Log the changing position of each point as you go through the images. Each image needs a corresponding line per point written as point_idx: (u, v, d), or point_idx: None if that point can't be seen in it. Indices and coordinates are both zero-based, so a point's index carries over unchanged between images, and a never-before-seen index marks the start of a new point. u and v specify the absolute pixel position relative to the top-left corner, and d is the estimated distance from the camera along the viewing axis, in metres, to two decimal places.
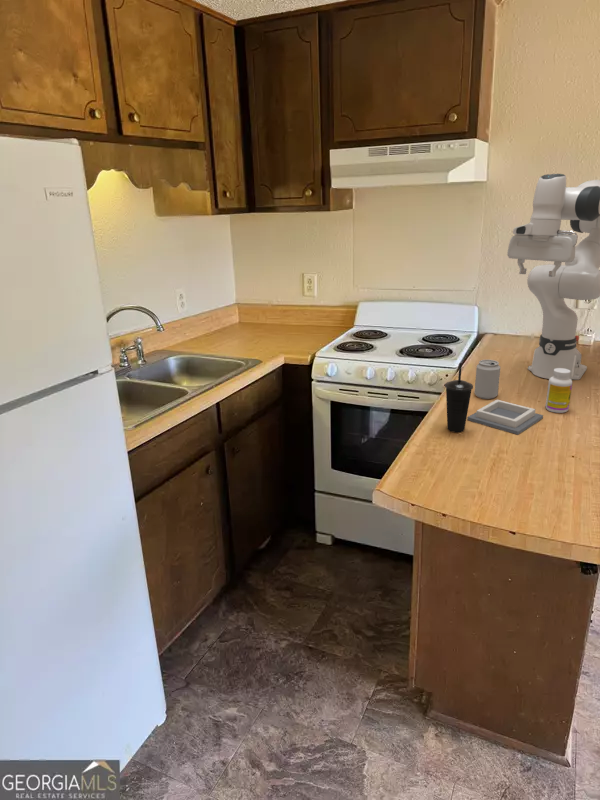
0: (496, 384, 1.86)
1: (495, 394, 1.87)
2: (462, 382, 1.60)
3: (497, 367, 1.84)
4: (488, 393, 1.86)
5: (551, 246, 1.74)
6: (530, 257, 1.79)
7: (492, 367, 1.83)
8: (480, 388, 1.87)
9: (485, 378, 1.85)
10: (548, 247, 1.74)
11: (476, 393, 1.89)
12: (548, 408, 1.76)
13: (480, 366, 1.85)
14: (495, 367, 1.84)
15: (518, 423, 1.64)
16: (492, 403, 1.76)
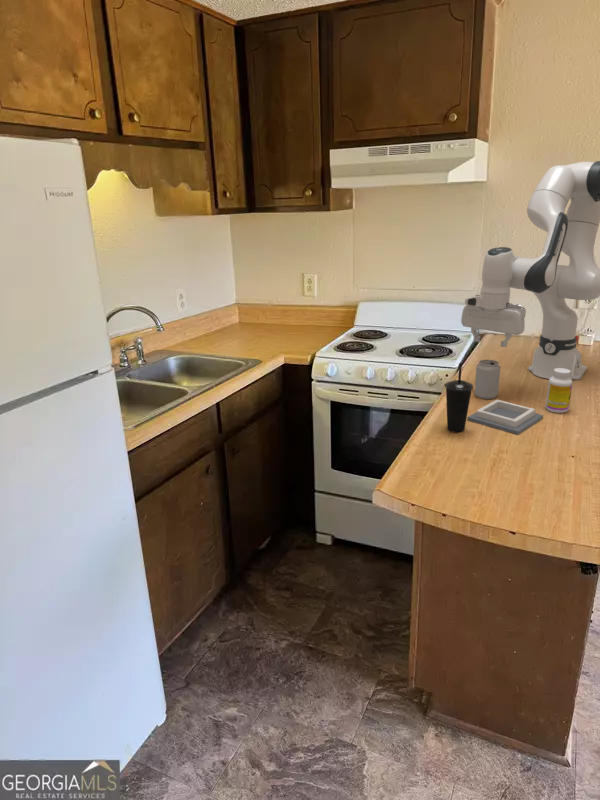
0: (496, 384, 1.86)
1: (495, 394, 1.87)
2: (462, 382, 1.60)
3: (497, 367, 1.84)
4: (488, 393, 1.86)
5: (501, 318, 1.77)
6: (482, 327, 1.82)
7: (492, 367, 1.83)
8: (480, 388, 1.87)
9: (485, 378, 1.85)
10: (498, 319, 1.78)
11: (476, 393, 1.89)
12: (548, 408, 1.76)
13: (480, 366, 1.85)
14: (495, 367, 1.84)
15: (518, 423, 1.64)
16: (492, 403, 1.76)
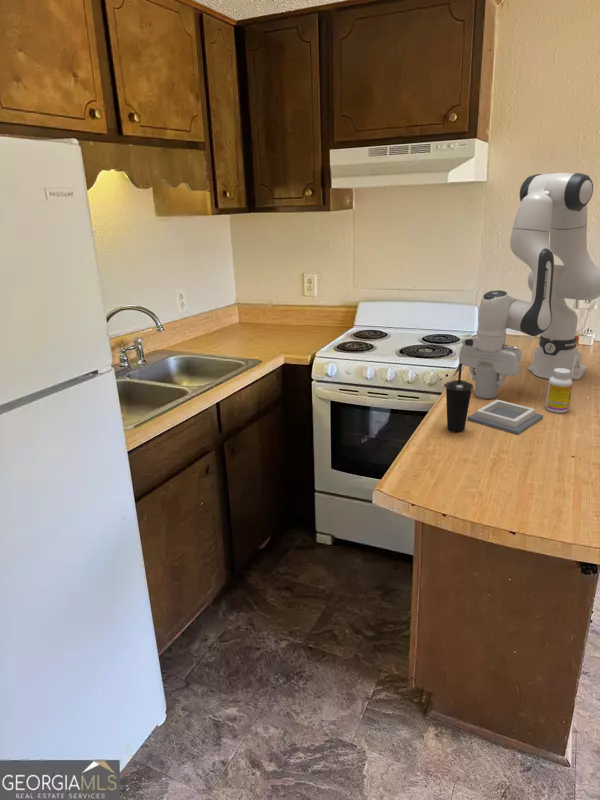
0: None
1: (495, 394, 1.87)
2: (462, 382, 1.60)
3: None
4: (488, 393, 1.86)
5: (497, 359, 1.82)
6: None
7: (492, 367, 1.83)
8: (480, 388, 1.87)
9: (485, 378, 1.85)
10: (495, 359, 1.82)
11: (476, 393, 1.89)
12: (548, 408, 1.76)
13: (480, 366, 1.85)
14: None
15: (518, 423, 1.64)
16: (492, 403, 1.76)
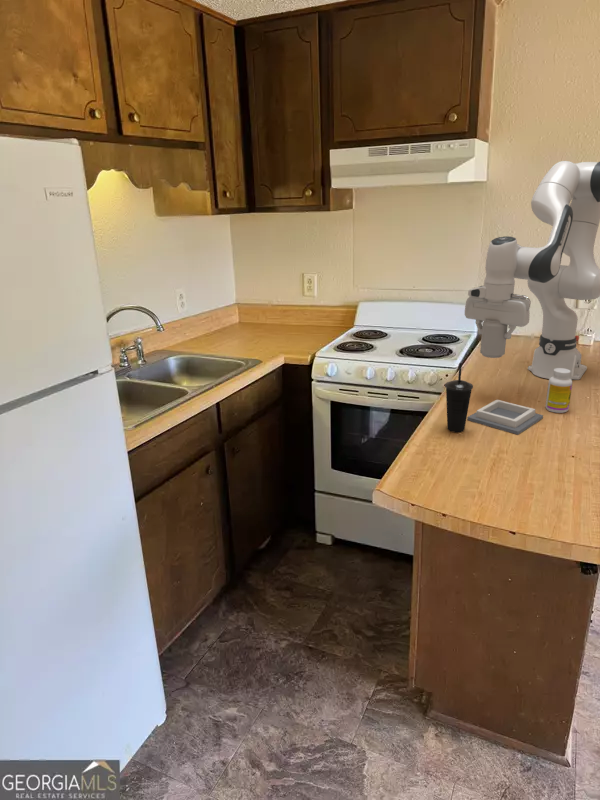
0: (503, 342, 1.77)
1: (502, 352, 1.78)
2: (462, 382, 1.60)
3: None
4: (495, 351, 1.77)
5: (505, 310, 1.73)
6: None
7: (499, 323, 1.75)
8: (486, 346, 1.78)
9: (492, 335, 1.76)
10: (503, 310, 1.73)
11: (482, 352, 1.80)
12: (548, 408, 1.76)
13: (486, 322, 1.77)
14: None
15: (518, 423, 1.64)
16: (492, 403, 1.76)
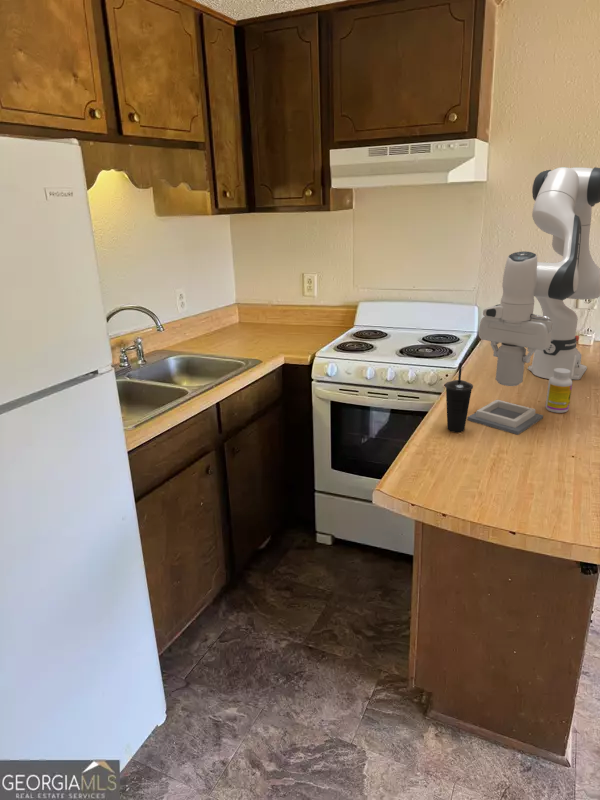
0: (521, 369, 1.63)
1: (519, 380, 1.64)
2: (462, 382, 1.60)
3: (522, 349, 1.61)
4: (512, 380, 1.63)
5: (524, 331, 1.58)
6: (503, 341, 1.63)
7: (517, 349, 1.61)
8: (502, 373, 1.64)
9: (509, 362, 1.62)
10: (521, 332, 1.59)
11: (498, 379, 1.66)
12: (548, 408, 1.76)
13: (503, 348, 1.63)
14: (520, 349, 1.61)
15: (518, 423, 1.64)
16: (492, 403, 1.76)
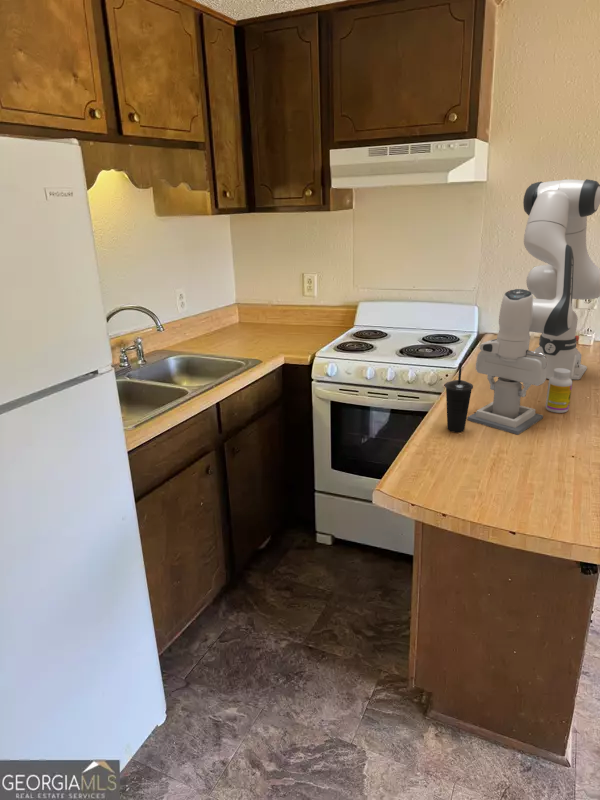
0: (517, 404, 1.67)
1: (515, 415, 1.68)
2: (462, 382, 1.60)
3: (518, 385, 1.65)
4: (508, 414, 1.67)
5: (520, 367, 1.62)
6: (499, 375, 1.67)
7: (512, 385, 1.65)
8: (498, 408, 1.68)
9: (505, 397, 1.66)
10: (517, 367, 1.63)
11: (494, 413, 1.70)
12: (548, 408, 1.76)
13: (499, 383, 1.67)
14: (516, 385, 1.65)
15: (518, 423, 1.64)
16: (492, 403, 1.76)
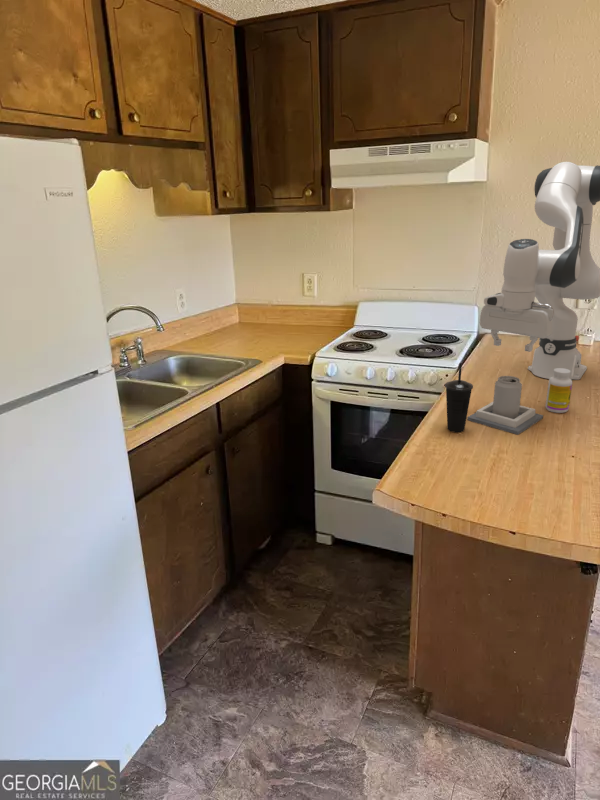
0: (517, 404, 1.67)
1: (515, 415, 1.68)
2: (462, 382, 1.60)
3: (518, 385, 1.65)
4: (508, 414, 1.67)
5: (526, 320, 1.57)
6: (504, 329, 1.62)
7: (512, 385, 1.65)
8: (498, 408, 1.68)
9: (505, 397, 1.66)
10: (523, 320, 1.58)
11: (494, 413, 1.70)
12: (548, 408, 1.76)
13: (499, 383, 1.67)
14: (516, 385, 1.65)
15: (518, 423, 1.64)
16: (492, 403, 1.76)
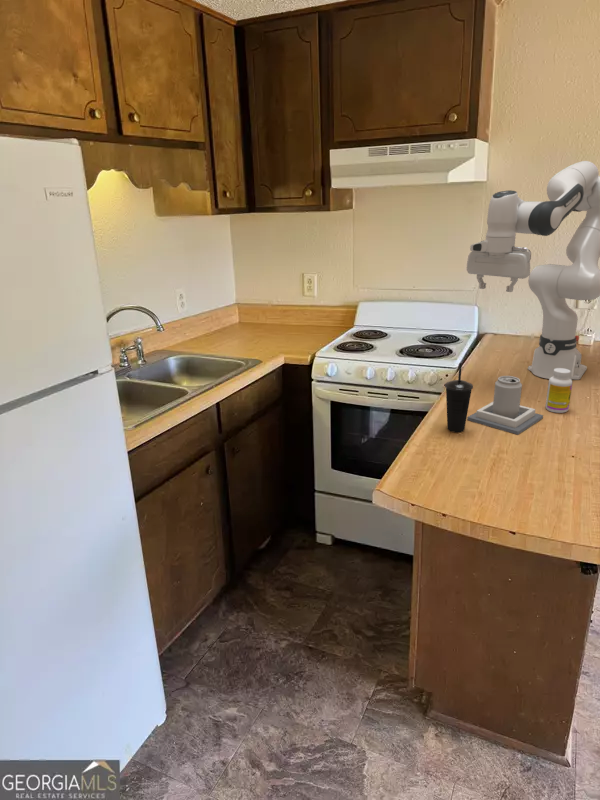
0: (517, 404, 1.67)
1: (515, 415, 1.68)
2: (462, 382, 1.60)
3: (518, 385, 1.65)
4: (508, 414, 1.67)
5: (507, 263, 1.77)
6: (488, 273, 1.82)
7: (512, 385, 1.65)
8: (498, 408, 1.68)
9: (505, 397, 1.66)
10: (504, 263, 1.78)
11: (494, 413, 1.70)
12: (548, 408, 1.76)
13: (499, 383, 1.67)
14: (516, 385, 1.65)
15: (518, 423, 1.64)
16: (492, 403, 1.76)
